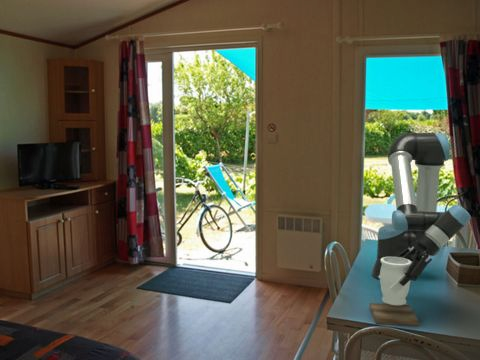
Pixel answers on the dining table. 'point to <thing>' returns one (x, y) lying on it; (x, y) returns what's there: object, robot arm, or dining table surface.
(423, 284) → the dining table surface
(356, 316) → the dining table surface
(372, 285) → the dining table surface
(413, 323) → the walnut stand
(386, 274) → the jar
